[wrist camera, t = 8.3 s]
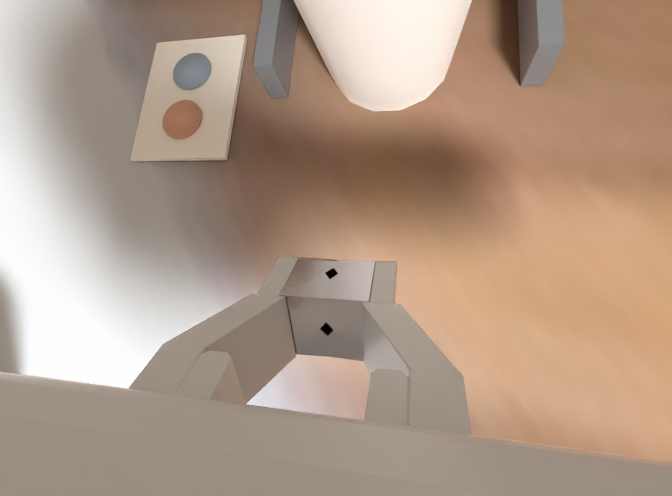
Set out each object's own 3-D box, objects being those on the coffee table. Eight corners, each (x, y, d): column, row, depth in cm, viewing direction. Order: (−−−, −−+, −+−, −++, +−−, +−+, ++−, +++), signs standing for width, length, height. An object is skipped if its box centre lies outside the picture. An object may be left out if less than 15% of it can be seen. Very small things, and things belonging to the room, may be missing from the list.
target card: (226, 160, 20) (222, 155, 19) (133, 161, 21) (127, 157, 20) (247, 38, 21) (243, 31, 21) (160, 46, 22) (154, 40, 22)
